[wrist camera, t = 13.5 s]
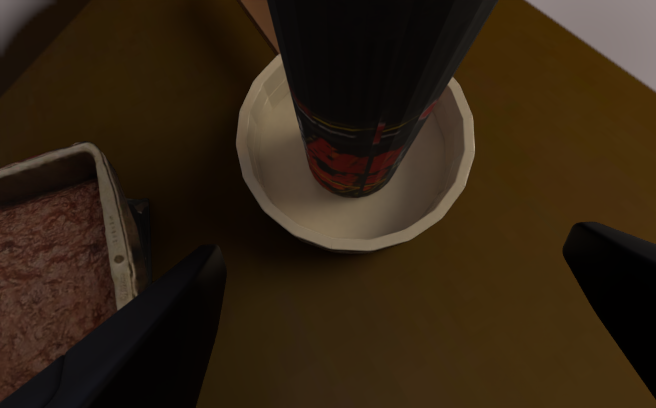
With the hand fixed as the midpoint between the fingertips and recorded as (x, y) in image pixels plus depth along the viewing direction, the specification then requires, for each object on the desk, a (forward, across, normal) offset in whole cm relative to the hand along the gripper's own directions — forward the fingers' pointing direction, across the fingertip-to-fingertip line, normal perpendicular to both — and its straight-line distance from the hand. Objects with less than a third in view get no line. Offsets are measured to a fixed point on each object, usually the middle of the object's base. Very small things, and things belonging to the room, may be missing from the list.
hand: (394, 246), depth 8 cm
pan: (+13, 0, +3) cm, 13 cm away
